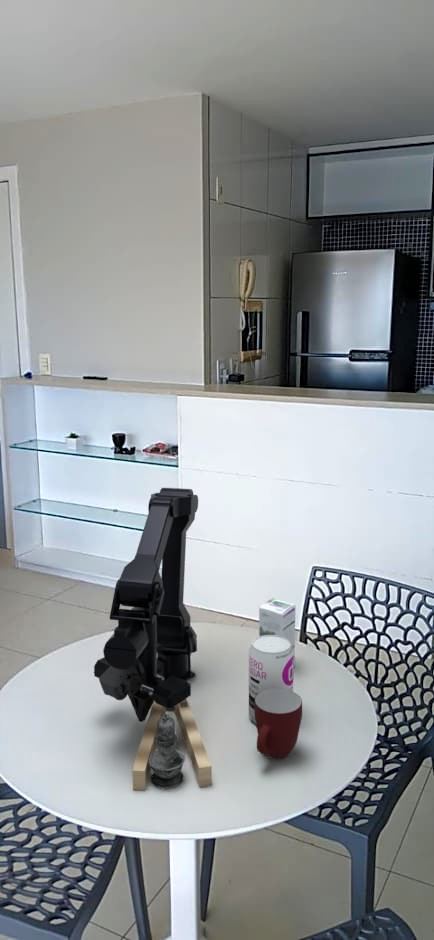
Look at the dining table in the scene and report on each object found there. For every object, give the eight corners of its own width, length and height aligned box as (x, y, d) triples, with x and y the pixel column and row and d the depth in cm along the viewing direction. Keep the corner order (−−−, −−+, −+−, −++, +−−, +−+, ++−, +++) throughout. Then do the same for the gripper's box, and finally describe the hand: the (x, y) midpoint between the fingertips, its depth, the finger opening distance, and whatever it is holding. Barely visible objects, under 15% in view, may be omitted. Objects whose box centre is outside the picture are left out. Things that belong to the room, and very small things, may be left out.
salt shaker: (149, 768, 122) (147, 703, 120) (184, 765, 123) (183, 701, 120) (149, 791, 117) (146, 724, 114) (186, 788, 117) (184, 721, 114)
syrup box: (295, 666, 155) (296, 603, 152) (281, 678, 151) (282, 612, 147) (272, 659, 159) (273, 596, 155) (257, 670, 154) (258, 606, 150)
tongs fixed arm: (163, 705, 141) (162, 684, 140) (182, 702, 142) (182, 681, 141) (188, 789, 117) (187, 764, 116) (211, 785, 118) (211, 760, 117)
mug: (287, 781, 119) (288, 726, 116) (241, 768, 122) (241, 715, 120) (307, 745, 128) (308, 694, 126) (264, 734, 131) (264, 684, 129)
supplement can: (298, 711, 139) (299, 638, 135) (283, 734, 132) (284, 657, 128) (258, 701, 142) (258, 630, 139) (241, 723, 135) (241, 649, 131)
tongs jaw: (155, 713, 138) (154, 696, 138) (165, 713, 138) (165, 696, 137) (133, 789, 117) (132, 770, 116) (145, 790, 117) (144, 771, 116)
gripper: (69, 643, 129) (73, 723, 132) (149, 676, 118) (150, 762, 121) (115, 622, 137) (116, 697, 141) (192, 650, 126) (192, 731, 130)
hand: (142, 721), depth 133 cm, fingers closed
